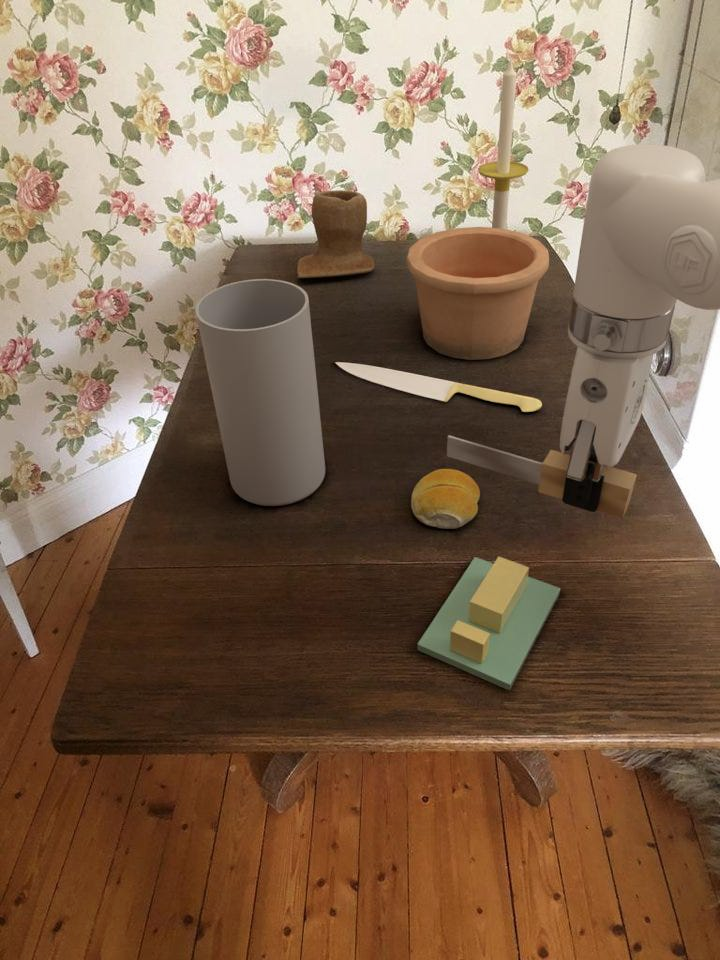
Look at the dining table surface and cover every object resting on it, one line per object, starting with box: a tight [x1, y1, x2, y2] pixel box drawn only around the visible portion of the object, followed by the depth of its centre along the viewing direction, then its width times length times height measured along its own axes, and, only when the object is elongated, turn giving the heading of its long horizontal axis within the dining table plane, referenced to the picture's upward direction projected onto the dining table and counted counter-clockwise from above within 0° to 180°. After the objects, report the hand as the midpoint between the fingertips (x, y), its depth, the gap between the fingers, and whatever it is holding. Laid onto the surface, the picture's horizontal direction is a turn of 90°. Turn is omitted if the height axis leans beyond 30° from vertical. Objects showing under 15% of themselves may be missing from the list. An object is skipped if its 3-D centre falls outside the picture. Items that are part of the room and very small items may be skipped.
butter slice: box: [450, 620, 490, 663], centre depth 74 cm, size 4×2×3 cm, turn 59°
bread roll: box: [410, 468, 481, 530], centre depth 92 cm, size 8×9×4 cm
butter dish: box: [416, 555, 561, 691], centre depth 78 cm, size 10×14×4 cm
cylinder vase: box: [194, 278, 326, 507], centre depth 91 cm, size 12×12×25 cm
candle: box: [477, 55, 530, 230], centre depth 130 cm, size 10×10×38 cm
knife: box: [334, 361, 543, 413], centre depth 114 cm, size 1×34×5 cm
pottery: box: [406, 226, 550, 361], centre depth 121 cm, size 22×22×14 cm
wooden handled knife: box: [446, 434, 637, 519], centre depth 72 cm, size 18×2×4 cm, turn 60°
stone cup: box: [296, 189, 375, 279], centre depth 144 cm, size 15×12×15 cm
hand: (584, 494), depth 70 cm, fingers closed on wooden handled knife, 2 cm apart
